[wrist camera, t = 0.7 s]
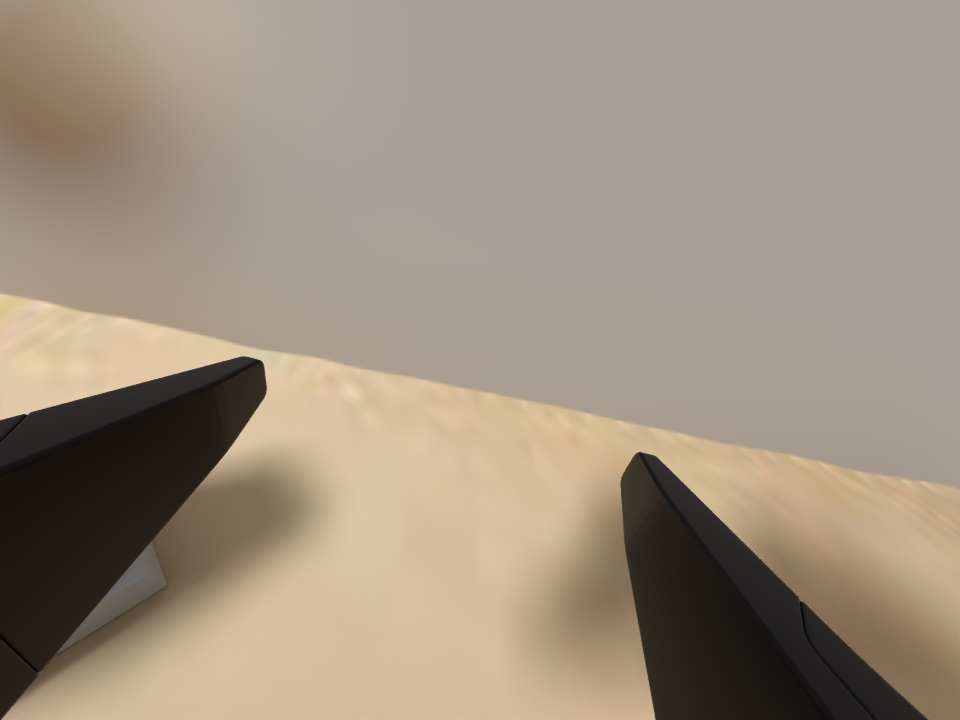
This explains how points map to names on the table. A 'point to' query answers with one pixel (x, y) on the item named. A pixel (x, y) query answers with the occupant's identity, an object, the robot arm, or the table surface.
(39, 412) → the robot arm
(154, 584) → the ledge
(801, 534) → the table surface
